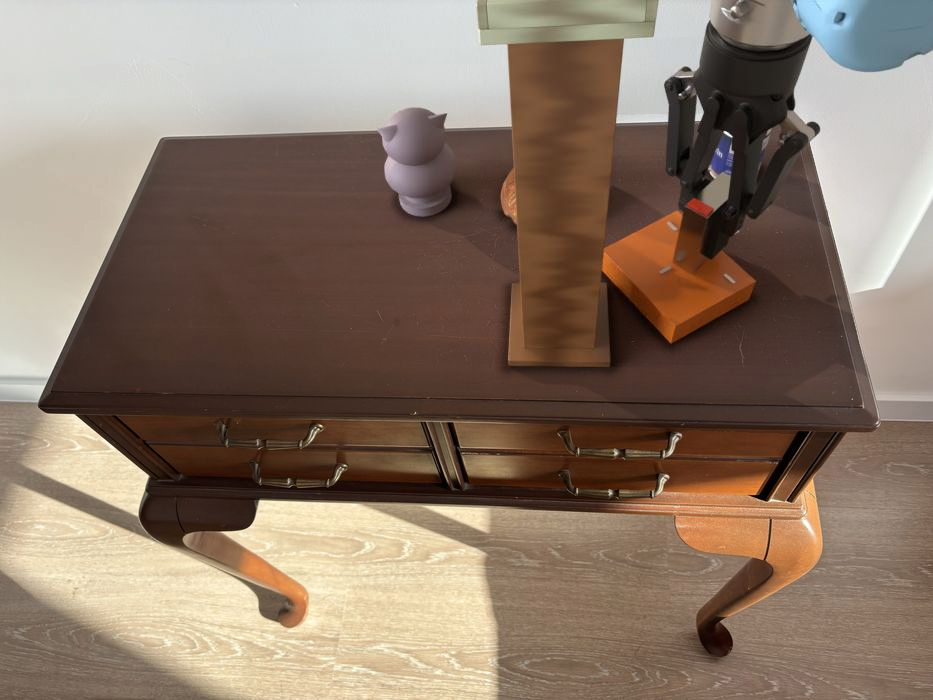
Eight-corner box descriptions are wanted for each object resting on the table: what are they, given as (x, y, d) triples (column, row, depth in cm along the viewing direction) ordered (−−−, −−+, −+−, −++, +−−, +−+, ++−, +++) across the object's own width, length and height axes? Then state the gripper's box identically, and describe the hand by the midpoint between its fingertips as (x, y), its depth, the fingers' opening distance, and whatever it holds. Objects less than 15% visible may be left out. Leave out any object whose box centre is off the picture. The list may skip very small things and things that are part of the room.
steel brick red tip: (706, 230, 73) (723, 169, 66) (727, 241, 72) (745, 181, 65) (671, 262, 71) (684, 203, 64) (692, 274, 70) (707, 216, 63)
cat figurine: (451, 167, 87) (439, 84, 77) (468, 209, 83) (457, 126, 73) (385, 185, 86) (364, 103, 77) (399, 228, 82) (379, 147, 72)
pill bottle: (705, 154, 84) (722, 81, 76) (755, 154, 83) (778, 81, 75) (708, 187, 81) (726, 115, 73) (759, 188, 80) (784, 116, 72)
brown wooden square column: (606, 288, 74) (646, -93, 43) (609, 367, 68) (659, -5, 38) (512, 288, 75) (486, -82, 44) (508, 366, 70) (475, 4, 39)
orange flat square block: (772, 286, 72) (780, 266, 69) (670, 343, 69) (675, 325, 67) (695, 218, 78) (700, 197, 76) (599, 268, 76) (601, 248, 73)
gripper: (642, 12, 53) (617, 226, 73) (832, 90, 46) (748, 305, 66) (701, -31, 56) (662, 188, 75) (889, 37, 49) (792, 259, 68)
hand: (702, 242), depth 70 cm, fingers closed on steel brick red tip, 3 cm apart
